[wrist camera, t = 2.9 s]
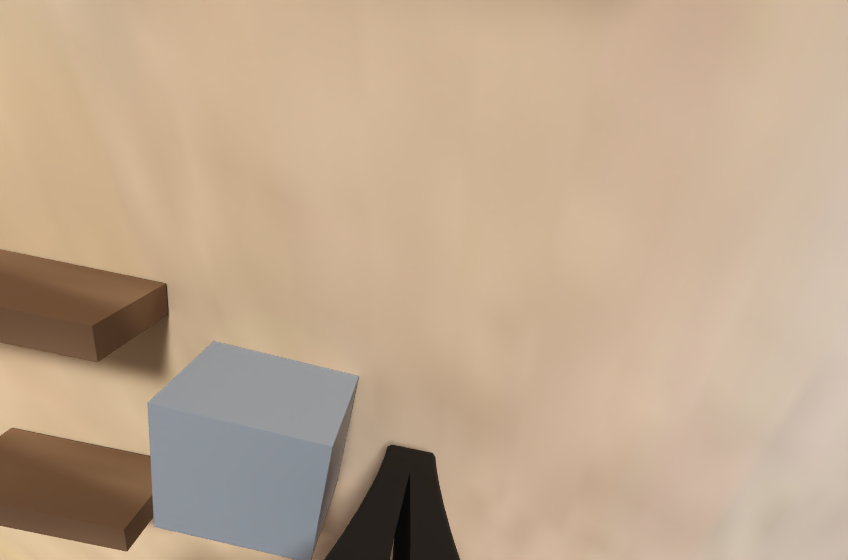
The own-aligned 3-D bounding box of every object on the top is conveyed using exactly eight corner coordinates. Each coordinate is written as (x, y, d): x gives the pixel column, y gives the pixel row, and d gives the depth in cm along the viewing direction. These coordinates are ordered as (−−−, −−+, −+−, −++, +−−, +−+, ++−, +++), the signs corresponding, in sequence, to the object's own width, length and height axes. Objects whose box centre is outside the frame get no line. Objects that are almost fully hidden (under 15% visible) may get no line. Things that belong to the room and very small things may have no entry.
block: (339, 474, 14) (310, 562, 11) (213, 445, 14) (153, 526, 11) (360, 372, 12) (332, 446, 10) (217, 337, 12) (147, 402, 9)
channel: (179, 482, 14) (126, 551, 12) (17, 449, 14) (-66, 512, 12) (165, 283, 11) (92, 325, 9) (-41, 241, 11) (-168, 272, 9)
